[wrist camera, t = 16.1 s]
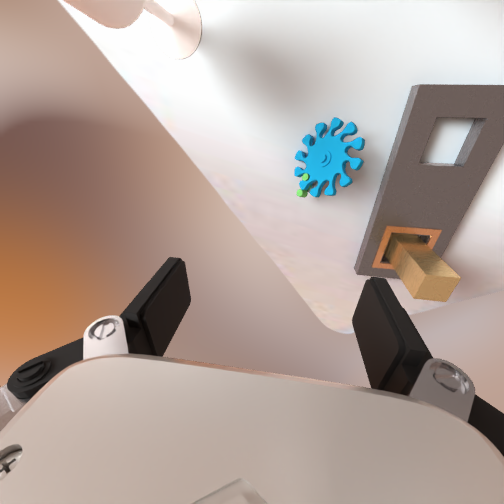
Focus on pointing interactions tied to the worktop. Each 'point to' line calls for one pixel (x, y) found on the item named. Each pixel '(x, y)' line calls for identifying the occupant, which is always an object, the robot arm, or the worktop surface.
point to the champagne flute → (162, 20)
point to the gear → (327, 159)
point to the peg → (420, 268)
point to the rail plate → (432, 171)
